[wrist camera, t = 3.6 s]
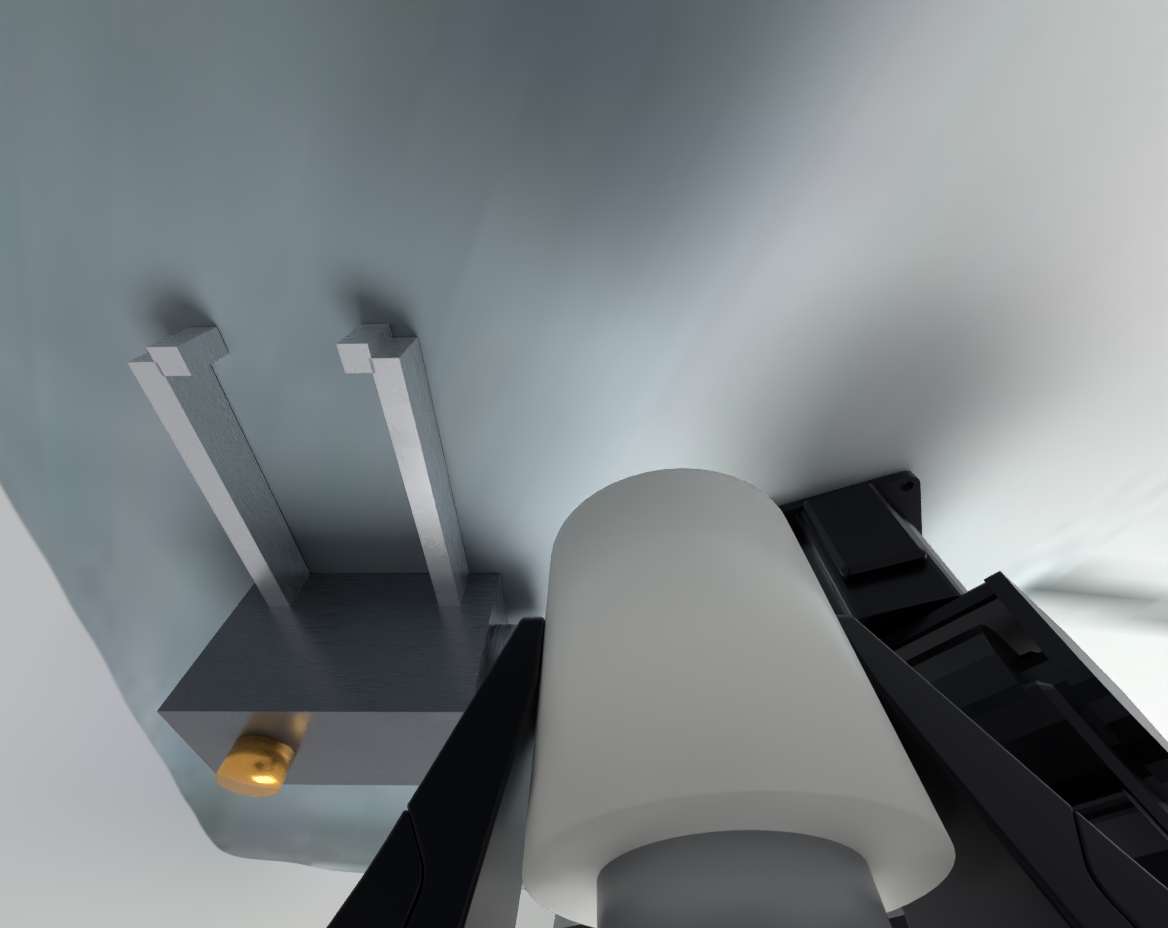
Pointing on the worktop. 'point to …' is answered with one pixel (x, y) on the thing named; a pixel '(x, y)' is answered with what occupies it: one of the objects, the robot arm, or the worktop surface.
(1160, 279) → the worktop surface
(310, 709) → the motor clip
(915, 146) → the worktop surface
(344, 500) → the worktop surface
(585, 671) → the bottle
